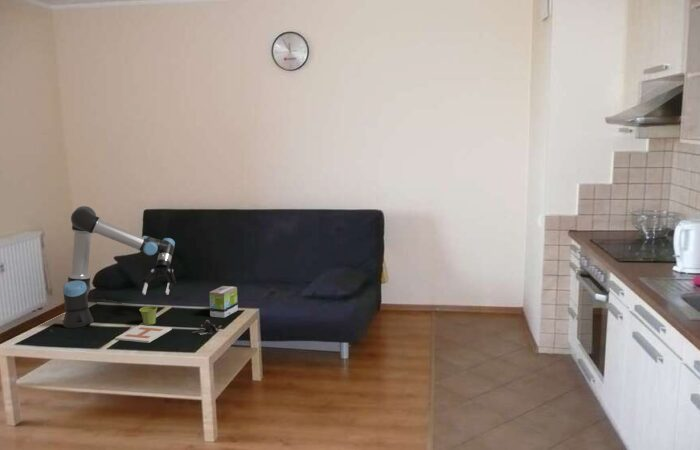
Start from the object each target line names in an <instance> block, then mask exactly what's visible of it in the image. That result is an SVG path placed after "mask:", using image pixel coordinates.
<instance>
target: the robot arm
mask: <svg viewBox="0 0 700 450" xmlns="http://www.w3.org/2000/svg"><path fill="white" fill-rule="evenodd" d="M70 222H71V225H72V226H71V230H72V231H73V234H74V236H73V247H72V249H73V250H72V260H71V261H72V262H71V263H72V264H71V273H70V274H68V277H67V282H66V283H65V284H63V287H62V293H63V300H64V301H63V302H64V309H65V312H64V317H63V320H62V323H63V327H64V328H67V329H68V328H69V329H74V328H75V329H76V328H82V327H86V326H85V325H87V324H89V323H91V324H93V322H94V318H93V316H92V314H91V311H90V309H89V301H88V296H89V293H90V291H91V276H90V274H89V262H90V252H91V251H90V249H91V238H92V234H98V235H100V236H103V237H105V238H107V239H110V240H112V241H114V242H118V243H120V244H123V245H125V246H128V247H131V248H133V249H136V250H138V251H140V252H142V253H144V254H146V255H147V256H154V255H155V254H156V253H158V256H157V260H156V264H155V268H152V267H151V268H149V269H148V271H147V272H146V274H145V275H144V277H142V278H141V280H140V283H141V284H142V287H141V288H142V291H141V292H142V295H143V296H145V295H146V294H147V291H148V290H147V289H148V286H149V283H150V282H151V281H153V280H154V279H155V278H157V277H165V278H166V280H167V281H168V282H167V286H166V289H165V294H166V295H167V296H168V295H169V293H170V290H171V289H172V287H173V285H174V284H177V280H176V277H175V273H174V269H173V268H172V267H171V268H170V265H171V262H172V258H173V254H174V250H175V245H176V242H175V240H174V239H172V238H170V237H164V238H163V239H162V240H161V239H158V238H154V237H151V236H149V235H148V236H147V235H143V236H140V235H138V234H135V233H133V232H131V231H129V230H126V229H123V228H121V227H119V226H116V225H113V224H111V223H109V222H106V221H104V220H101V217H98V216H97V214H96V212H95V210H94V209H93V208H92V207H90V206H85V205H83V206H79V207H77V208H75V210H74V211H72V213H71V216H70ZM168 273H170V276H171V278H170V277H169V275H168ZM171 279H172V280H171ZM89 325H90V324H89ZM87 326H88V325H87Z"/></svg>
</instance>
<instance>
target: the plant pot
mask: <svg viewBox="0 0 700 450" xmlns="http://www.w3.org/2000/svg"><path fill="white" fill-rule="evenodd" d="M157 310H158V307H157V306H155V305H150V306H149V305H148V306H143V307H141V308H139V313H140V314H141V317H142V321H143V325H144V326H151V325H155V324H156V323H157V320H156V319H157V312H158V311H157Z"/></svg>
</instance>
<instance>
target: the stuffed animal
mask: <svg viewBox="0 0 700 450" xmlns="http://www.w3.org/2000/svg"><path fill="white" fill-rule="evenodd" d="M200 328H202V330H201V329H200V330H195V331H191V333H192V334H200V335H201V336H202V335H207V334H208V335H210V334H211V335H212V334H214V333H218V332H219V330H220V329H221V328H222V325H219V326H217V327H216V324H214V323H211V321H210V320H209V319H206V320H205V321H204V324H200Z"/></svg>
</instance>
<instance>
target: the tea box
mask: <svg viewBox="0 0 700 450" xmlns="http://www.w3.org/2000/svg"><path fill="white" fill-rule="evenodd" d="M238 306H239V304H238V287H237V286H230V285H229V286H228V285H226V286H225V285H221V286H220V287H217V288H216V289H213V290H211V291H209V309H210V310H209V315H210V317H212V318H222V319H225V318H226V317H228V316H230V315H231V314H234V313H236V312H237V311H239V310H238V309H239V307H238Z"/></svg>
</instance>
